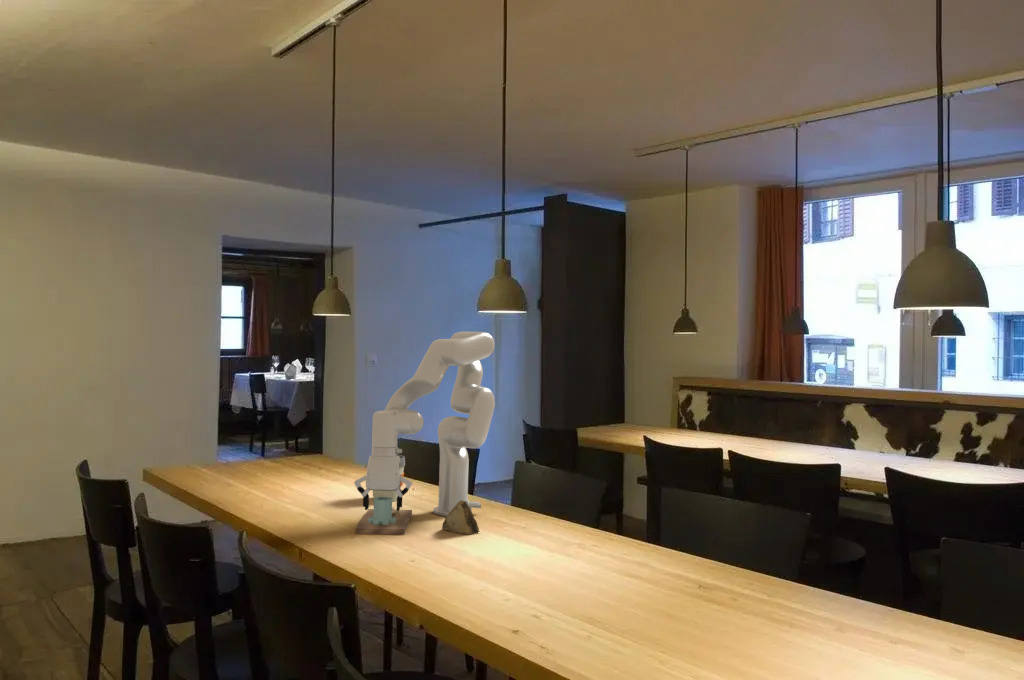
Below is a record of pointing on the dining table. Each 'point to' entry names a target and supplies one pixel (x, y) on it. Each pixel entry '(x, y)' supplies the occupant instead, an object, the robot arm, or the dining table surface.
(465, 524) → the rock
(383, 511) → the loose cog
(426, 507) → the dining table surface
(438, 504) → the robot arm
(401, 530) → the gear board
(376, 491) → the reusable coffee cup
